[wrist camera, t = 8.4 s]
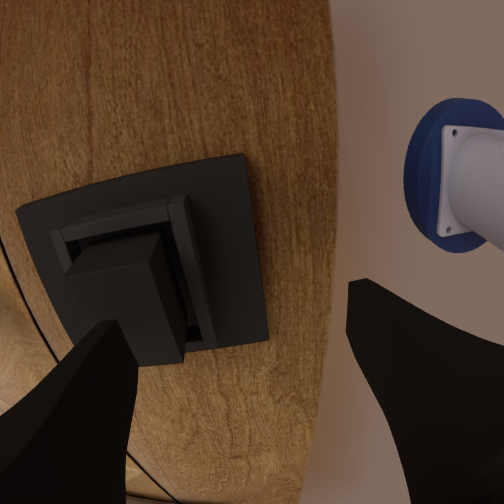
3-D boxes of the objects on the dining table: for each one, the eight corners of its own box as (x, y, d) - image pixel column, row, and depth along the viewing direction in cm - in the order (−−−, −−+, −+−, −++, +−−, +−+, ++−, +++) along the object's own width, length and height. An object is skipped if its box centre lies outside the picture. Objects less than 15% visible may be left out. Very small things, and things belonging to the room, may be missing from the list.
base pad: (243, 152, 16) (248, 160, 13) (267, 331, 21) (273, 356, 19) (22, 205, 15) (1, 219, 13) (86, 352, 20) (77, 375, 18)
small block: (163, 226, 16) (149, 261, 12) (188, 316, 19) (184, 363, 15) (89, 241, 16) (61, 276, 12) (122, 325, 18) (107, 369, 15)
